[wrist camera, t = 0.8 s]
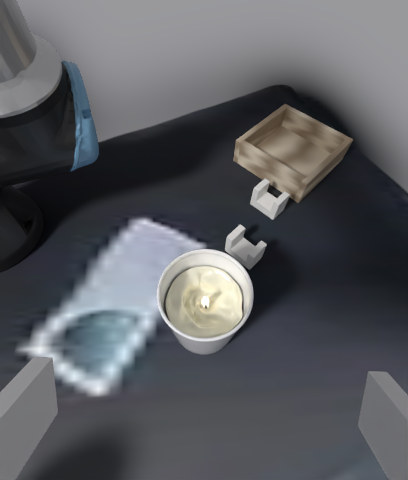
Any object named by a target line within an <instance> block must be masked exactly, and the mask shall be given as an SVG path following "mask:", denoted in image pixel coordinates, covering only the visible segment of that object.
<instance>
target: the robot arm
mask: <svg viewBox="0 0 408 480" xmlns="http://www.w3.org/2000/svg"><path fill="white" fill-rule="evenodd" d="M98 155H99V146H98V140H97V135H96V130H95V126H94V121H93V118H92V115H91V110H90V106H89V101H88V97H87V94H86V90H85V87H84V83H83V80H82V77H81V74H80V71H79V69H78V67H77V65H76V64H75V63H72V62H66V61H62V62H61V60H60V58H59V55H58V54H57V52H56V50H55V49H54V48H53V46H52V45H50V44H49V43H48V42H47V41H46V40H44V39H43V38H41V37H39V36H36V35H34V34H32V33H31V31H30V29H29V27H28V24H27V22H26V20H25V18H24V16H23V14H22V12H21V10H20V7H19V5H18V3H17V1H16V0H0V272H1V271H3V270H6V269H8V268H10V267H12V266H13V265H15V264H17V263H18V262H19V261H21V260H22V259H23V258H25V257H26V256H27V255H28V254H29V253H30V252H31V251H32V250H33V248H34V247H35V246H36V244H37V243H38V241H39V239H40V237H41V235H42V232H43V228H44V217H43V214H42V212H41V210H40V208H39V207H38V206H37V205H36V203H35V202H34V201H33V200H32V199H31V198H30V197H29V196H28V195H26V194H25V193H23V192H21V191H20V190H18V189H16V188H14V187H13V186H11V185H15V184H19V183H23V182H27V181H31V180H35V179H40V178H44V177H48V176H52V175H56V174H61V173H65V172H69V171H70V172H71V171H74V170H75V169H77V168H80V167H83V166H86V165H89V164H92V163H93V162H95V161H96V160H97V158H98ZM57 413H58V410H57V400H56V390H55V380H54V370H53V360H52V358H48V357H34V358H33V359H32V360H31V361H30V362H29V363H28V364H27V365H26V366H25V367H24V368H23V369H22V370H21V371H20V372H19V373H18V374H17V375H16V376H15V377H14V378H13V380H12V381H11V382H10V383H9V384H8V385H7V386H6V387H5V388H4V389H3V390H2V391H1V392H0V480H15V479H16V478H17V476H18V475H19V473H20V471H21V470H22V468H23V467H24V465H25V464H26V462H27V460H28V459H29V457H30V456H31V454H32V453H33V451H34V449H35V448H36V446H37V445H38V443H39V442H40V440H41V438H42V437H43V435H44V434H45V432H46V431H47V429H48V427H49V426H50V424H51V423H52V421H53V419H54V418H55V416H56V415H57ZM358 427H359V429H360V431H361V433H362V434H363V436H364V438H365V440H366V441H367V443H368V445H369V446H370V448H371V450H372V452H373V453H374V455H375V457H376V458H377V460H378V462H379V464H380V465H381V467H382V469H383V470H384V472H385V474H386V476H387V477H388V479H389V480H408V395H407V394H406V393H405V392H404V391H403V390H402V388H401V387H400V386H399V385H398V384H397V383H396V382H395V381H394V379H393V378H392V377H391V376H390V375H389V374H388V373H387V372H374V371H368V375H367V381H366V386H365V391H364V397H363V402H362V407H361V412H360V418H359V423H358Z"/></svg>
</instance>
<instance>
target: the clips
mask: <svg viewBox="0 0 408 480" xmlns="http://www.w3.org/2000/svg"><path fill="white" fill-rule="evenodd" d="M269 183H270V181H268V180H267V179H264V180H263V181H262V182H260V183H259V184H258V185H257V186H256V187H255V188H254V189H253V194H252V198H251V202H250V204H251V205H253V206H254V207H256V208H257V209H258V210H260V211H261V212H263V213H264V214H265V215H267V216H268V217H270V218H271V219H272V220H274V219H275V218H276V217H277V216H278V215H279V214H280V213H281V212H282V211H283V210H284V208H285V205H286V203H287V201H288V198H289V196H290V194H288V193H287V192H284V193H282V194H281V195H280V196H279V197H278V198H276V197H274V196H273V195H271V194H270V193H268V192H267V189H268V186H269ZM244 232H245V228H244V227H243V226H242V225H239V226H238V227H237V228H236V229H235V230H234V231H233V232H231V233H230V234H229V235H228V236H227V239H226V246H225V251H227V252H228V253H229V254H230V255H231V256H233V257H234V258H235V259H236V260H238V261H239V262H240V263H241V264H243V265H244V266H245V267H246V268H247V269H249V270H250V269H251V268H252V267H253V266H254V265H255V264H256V263H257V262H258V261H259V260H260V259H261V258H262V256H263V253H264V251H265V248H266V246H267V244H265V243H264V242H263V241H260V242H259V243H258V244H257V245H256V246H254V245H253V244H251V243H250V242H249V241H247V240H246V239H245V238H244V237H243V236H244Z"/></svg>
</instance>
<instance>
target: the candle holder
mask: <svg viewBox="0 0 408 480" xmlns="http://www.w3.org/2000/svg"><path fill="white" fill-rule="evenodd" d="M253 299H254V292H253V286H252V282H251V279H250V277H249V275H248V273H247V271H246V270H245V269H244V267H243V266H242V265H241V264H240V263H239V262H238V261H237V260H236V259H234V258H233V257H231V256H230V255H228V254H226V253H223V252H220V251H217V250H211V249H199V250H193V251H190V252H187V253H184V254H182V255H180V256H179V257H177V258H176V259H174V260H173V261H172V262H171V263H170V264H169V265H168V266H167V267H166V269H165V270H164V272H163V273H162V275H161V277H160V280H159V283H158V287H157V303H158V307H159V310H160V313H161V315H162V317H163V319H164V320H165V322H166V323H167V324H168V326H169V327H170V329H171V330H172V332H173V333H174V335H175V337H176V338H177V340H178V341H179V342H180V344H181V345H182V346H183V347H185V348H186V349H187V350H189V351H191V352H193V353H196V354H212V353H215V352H217V351H219V350H221V349H222V348H223V347H225V346H226V345H227V344H228V342H229V341H230V340H231V339H232V337H233V336H234V335H235V333H236V332H237V331H238V329H240V328H241V326H242V325H243V324H244V323H245V321H246V320H247V318H248V317H249V315H250V312H251V309H252V306H253Z"/></svg>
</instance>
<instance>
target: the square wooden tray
mask: <svg viewBox="0 0 408 480" xmlns="http://www.w3.org/2000/svg"><path fill="white" fill-rule="evenodd" d="M352 141H353V139H351V138H349V137H347V136H345V135H344V134H342V133H340V132H338V131H336V130H334V129H332V128H330V127H328V126H326V125H325V124H323V123H321V122H319V121H317V120H315V119H313V118H311V117H309V116H307V115H306V114H304V113H302V112H300V111H298V110H296V109H294V108H292V107H290V106H288V105H286V104H284V105H283V106H281V107H280V108H279V109H277V110H276V111H275V112H273V113H272V114H271V115H269V116H268V117H267V118H265V119H264V120H263V121H261V122H260V123H258V124H257V125H256V126H254V127H253V128H252V129H250V130H249V131H248V132H246V133H245V134H244V135H242V136H241V137H240V138H238V139H237V140H236V145H235V152H234V161H235V162H237V163H238V164H240V165H241V166H243V167H244V168H246V169H247V170H249V171H250V172H252V173H253V174H255V175H256V176H258V177H259V178H261V179H262V180H264V179H267V180H268V181H270V183H269V184H270V185H272V186H273V187H275V188H276V189H278V190H279V191H281V192H282V193H284V192H287V193H288V194H290V196H289V197H290V198H291V199H293V200H294V201H296V202H297V203H299V202H300V201H301V200H302V199H303V198H304V197H305V196H306V195H307V194H308V193H309V192H310V191H311V190H312V189H313V188H314V187H315V186H316V185H317V184H318V183H319V182H320V181H321V180H322V179H323V178H324V177H325V176H326V175H327V174H328V173H329V172H330V171H331V170H332V169H333V168H334V167H335V166H336V165H337V164H338V163H339V162H340V161H341V160H342V159H343V157H344V155H345V154H346V152H347V150H348V148H349V146H350V145H351V143H352Z"/></svg>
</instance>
